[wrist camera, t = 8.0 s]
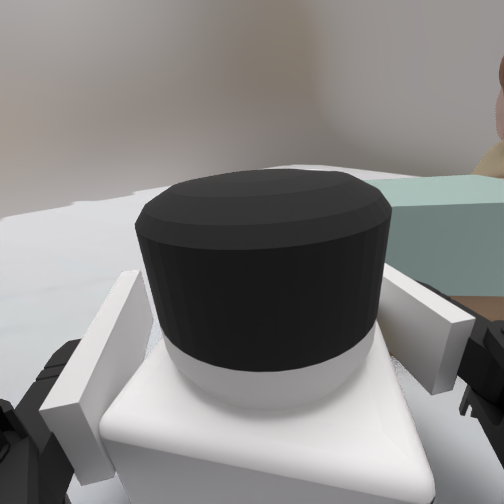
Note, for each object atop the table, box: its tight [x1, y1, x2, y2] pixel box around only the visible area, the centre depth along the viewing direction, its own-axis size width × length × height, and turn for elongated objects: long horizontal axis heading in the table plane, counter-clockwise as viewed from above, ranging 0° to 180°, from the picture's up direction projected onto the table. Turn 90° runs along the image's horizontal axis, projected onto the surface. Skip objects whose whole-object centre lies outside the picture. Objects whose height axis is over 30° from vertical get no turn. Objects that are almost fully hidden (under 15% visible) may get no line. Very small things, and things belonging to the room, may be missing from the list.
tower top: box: [363, 175, 504, 296], centre depth 17 cm, size 9×9×5 cm
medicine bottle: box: [99, 169, 436, 504], centre depth 9 cm, size 7×7×12 cm
